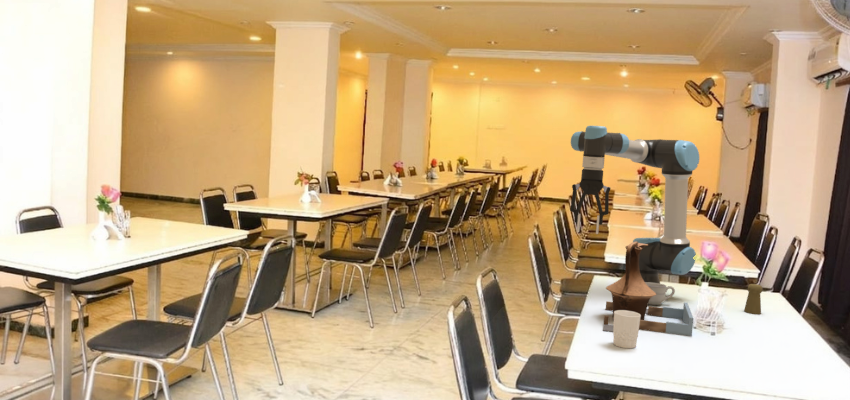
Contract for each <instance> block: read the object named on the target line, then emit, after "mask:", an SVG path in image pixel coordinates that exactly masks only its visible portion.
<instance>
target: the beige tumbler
mask: <svg viewBox="0 0 850 400" xmlns="http://www.w3.org/2000/svg"><path fill="white" fill-rule="evenodd" d="M640 317H641V315H640V314H639V313H636V312H633V311H626V310H617V311H614V318H613V325H614V326H613V332H612V333H613V335H612V336H613V339H612V340H613V341H612V343H613V345H614V346H616V347H618V348H623V349H635V348H636V347H637V341H638V340H637V339H638V337H639V330H640V329H639V325H640Z"/></svg>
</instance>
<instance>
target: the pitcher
mask: <svg viewBox="0 0 850 400" xmlns="http://www.w3.org/2000/svg"><path fill="white" fill-rule="evenodd" d="M645 246H648V244H643V243H638V242H636V241H635V242H633V241H632V242H630V243H629V244H627V245H625V249H626V251H625V259H624V260H625V261H624V262H625V263H624V264H625V274H624V275H623V276H621V278H619V279H618V280H616V281H615V282H613V283H612V284H609V285H607V286H606V287H605V289H606V290H607V291H609V292H610V294H611V298H612V302H613V311H612V318H613V319H614V311H617V310H626V311H633V312H636V313H639V314H640V315H641V317H640V320H645V316H646V314H645V313H646V309H648V305H649V304H648V302H649V300H650V298H651V297H653V296H655V295H656V293H655V292H654V291H653V290H651V289H650V288H649V287H648V285H647V284H646V283H645V282H644V280H643V279H642V277H641V274H640V270H639V256H640V252H641V250H642V249H643V248H644V247H645Z"/></svg>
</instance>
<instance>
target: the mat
mask: <svg viewBox="0 0 850 400" xmlns="http://www.w3.org/2000/svg"><path fill="white" fill-rule="evenodd" d="M613 326H614V324H608V325H606V324H604V323H603V326H602V331H603V332H608V331H609V333H613Z"/></svg>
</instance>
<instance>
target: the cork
mask: <svg viewBox="0 0 850 400" xmlns="http://www.w3.org/2000/svg"><path fill="white" fill-rule="evenodd" d="M747 291H748V293H747V297H746V302H745V306H744V309H743V312H744V313H747V314H750V315H751V314H752V315H761V314H762V306H761V305H762V304H761V298H762V297H761V294H762V293H763V286H762V285H760V284H757V283H750V284H748V285H747Z"/></svg>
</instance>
